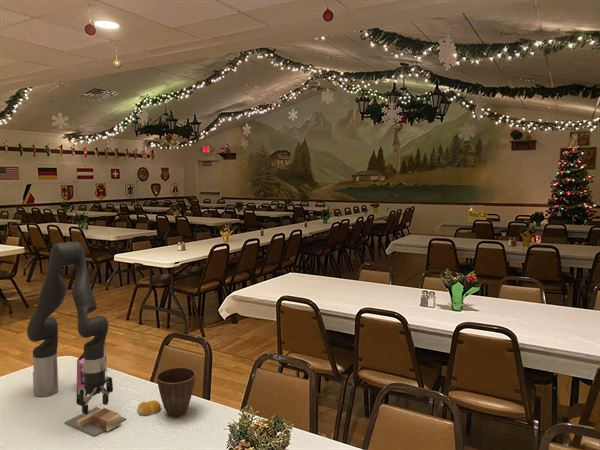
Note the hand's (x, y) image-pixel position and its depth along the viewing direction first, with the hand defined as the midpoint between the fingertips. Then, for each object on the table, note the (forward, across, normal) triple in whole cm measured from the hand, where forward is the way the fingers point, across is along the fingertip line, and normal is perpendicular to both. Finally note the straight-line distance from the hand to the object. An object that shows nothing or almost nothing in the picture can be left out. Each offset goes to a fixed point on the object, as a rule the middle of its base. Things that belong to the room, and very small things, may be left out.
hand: (95, 409), depth 176 cm
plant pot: (+5, -21, +22) cm, 31 cm away
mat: (+5, 0, 0) cm, 5 cm away
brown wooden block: (+3, 0, +2) cm, 3 cm away
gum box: (+6, -24, -35) cm, 43 cm away
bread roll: (+6, -16, +11) cm, 20 cm away
